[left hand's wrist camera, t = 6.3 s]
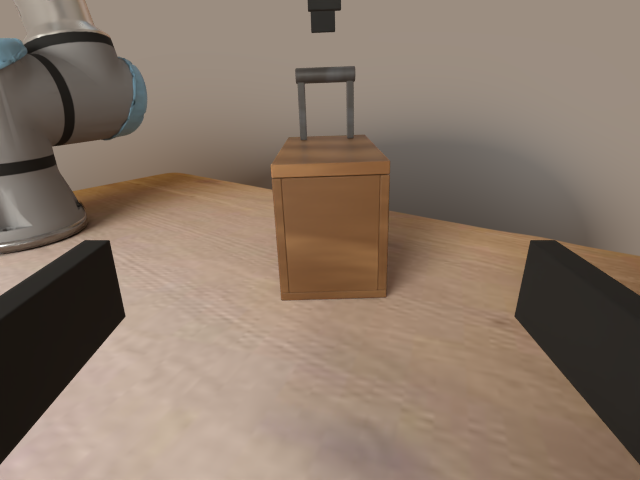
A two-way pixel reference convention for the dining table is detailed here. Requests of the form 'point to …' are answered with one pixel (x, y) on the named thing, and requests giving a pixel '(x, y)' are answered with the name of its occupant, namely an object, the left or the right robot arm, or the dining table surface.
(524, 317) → the left robot arm
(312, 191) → the chest
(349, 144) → the lid
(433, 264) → the dining table surface
